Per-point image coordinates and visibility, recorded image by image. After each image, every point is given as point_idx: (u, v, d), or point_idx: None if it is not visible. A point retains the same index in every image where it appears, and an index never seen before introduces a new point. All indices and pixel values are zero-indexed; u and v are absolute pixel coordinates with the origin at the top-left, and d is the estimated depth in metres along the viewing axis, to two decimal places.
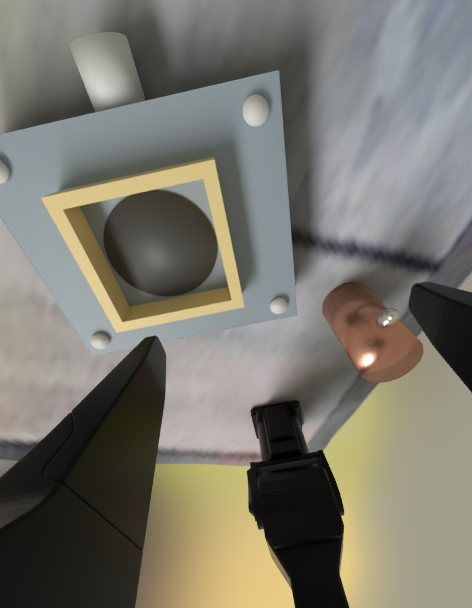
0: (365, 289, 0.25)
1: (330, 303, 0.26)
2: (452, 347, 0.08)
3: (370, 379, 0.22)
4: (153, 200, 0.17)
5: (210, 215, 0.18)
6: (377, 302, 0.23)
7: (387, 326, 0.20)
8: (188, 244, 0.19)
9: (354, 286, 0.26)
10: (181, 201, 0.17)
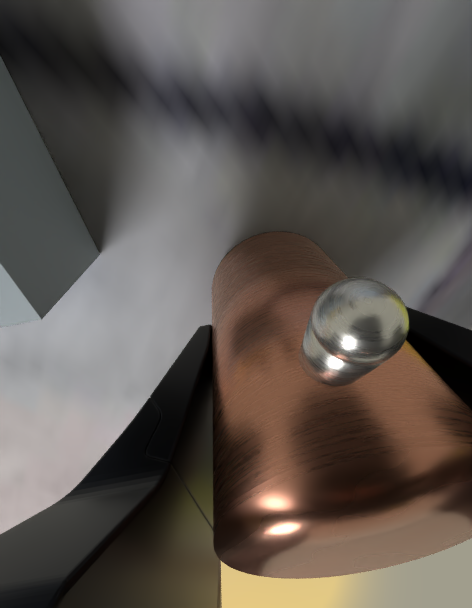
0: (307, 245, 0.09)
1: (216, 286, 0.10)
2: None
3: (291, 575, 0.06)
4: None
5: None
6: (331, 276, 0.07)
7: (344, 383, 0.04)
8: None
9: (278, 237, 0.09)
10: None
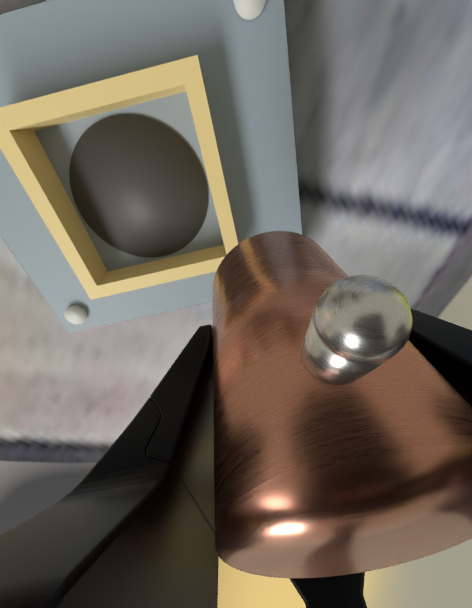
0: (308, 244, 0.09)
1: (217, 285, 0.10)
2: None
3: (293, 574, 0.05)
4: (127, 128, 0.14)
5: (198, 149, 0.14)
6: (332, 275, 0.07)
7: (346, 381, 0.04)
8: (172, 188, 0.15)
9: (279, 236, 0.09)
10: (162, 130, 0.14)
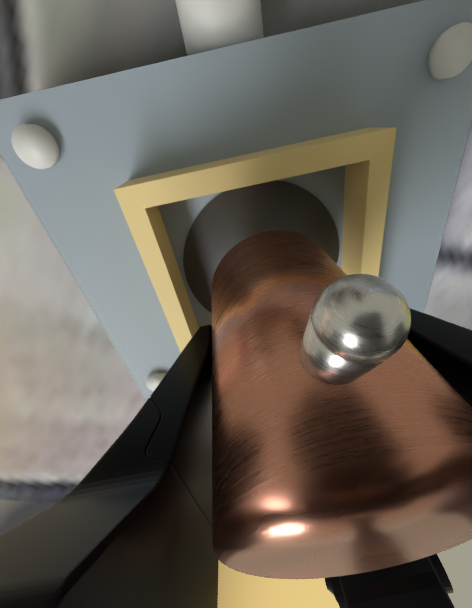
0: (307, 244, 0.09)
1: (216, 285, 0.10)
2: None
3: (291, 575, 0.05)
4: (263, 195, 0.12)
5: (338, 217, 0.12)
6: (331, 275, 0.07)
7: (345, 381, 0.04)
8: None
9: (278, 236, 0.09)
10: (303, 197, 0.12)
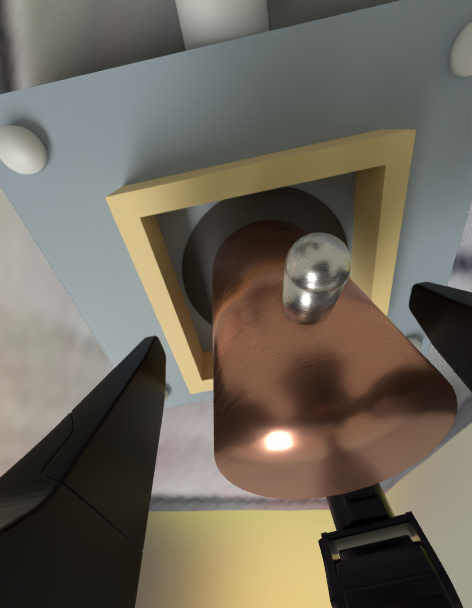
0: (296, 230, 0.10)
1: (216, 267, 0.11)
2: (452, 347, 0.08)
3: (278, 493, 0.07)
4: (268, 201, 0.11)
5: (348, 224, 0.11)
6: None
7: (313, 319, 0.05)
8: None
9: (271, 224, 0.10)
10: (311, 203, 0.11)
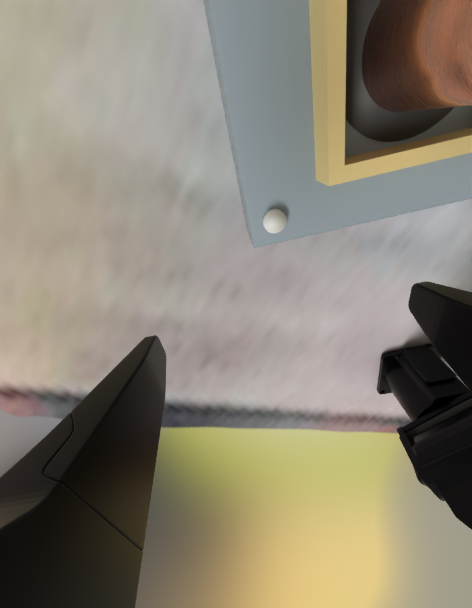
0: None
1: (386, 7, 0.11)
2: (452, 347, 0.08)
3: None
4: None
5: None
6: None
7: None
8: None
9: None
10: None
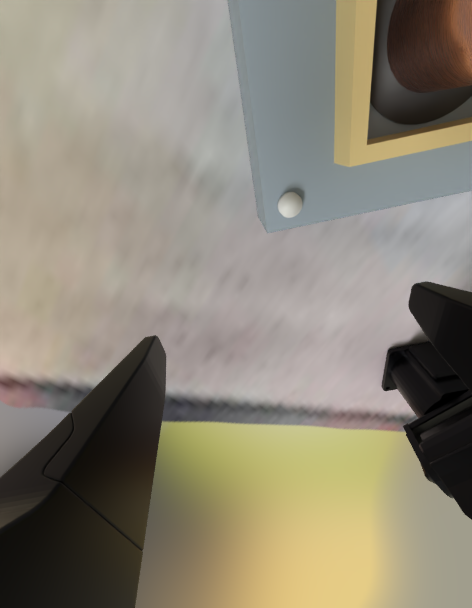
0: None
1: None
2: (452, 347, 0.08)
3: None
4: None
5: None
6: None
7: None
8: None
9: None
10: None
